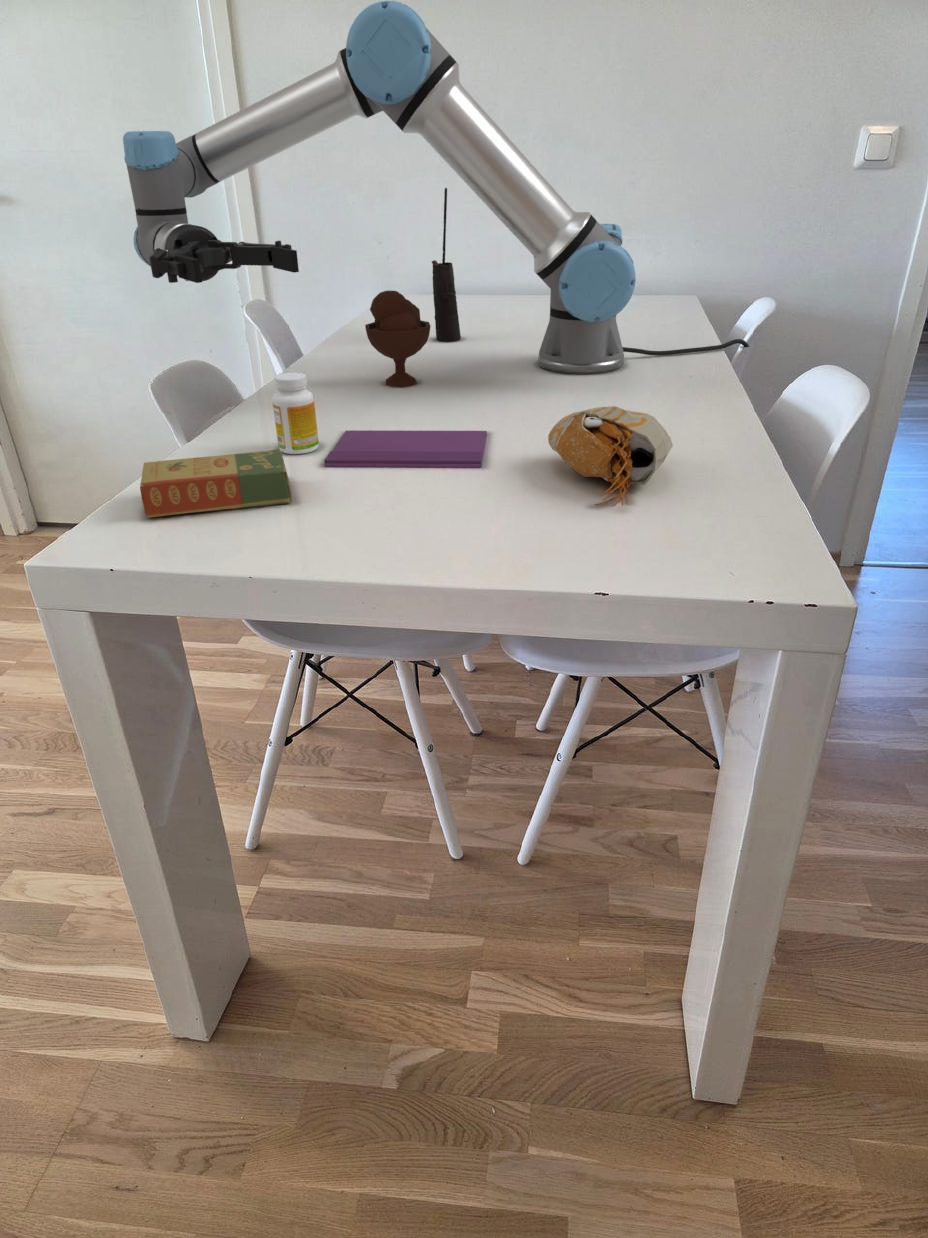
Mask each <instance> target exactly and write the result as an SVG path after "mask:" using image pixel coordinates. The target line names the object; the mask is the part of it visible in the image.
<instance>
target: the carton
mask: <svg viewBox="0 0 928 1238" xmlns="http://www.w3.org/2000/svg"><path fill="white" fill-rule="evenodd" d="M141 472H142V473H141V479H140V484H139V485H140V486H139V489H140V497H141V501H142V502H141V503H142V506H143V511H144V515H145V518H147V519H148V518H157V517H165V516H173V515H182V514H183V515H184V514H192V513H201V512H210V511H211V512H212V511H223V510H234V509H243V508H245V509H246V508H256V507H258V508H259V507H266V506H277V505H278V506H279V505H287V504H291V502H293V493H292V489H291V483H290V479H289V475H288V471H287V468H286V464H285V460H284V456H283V452H282V451H281V450H280V449H273V450H262V451H251V452H250V451H249V452H242V453H240V452H239V453H231V454H221V455H209V456H199V457H187V458H177V459H165V460H158V461H148V462H147V461H146V462H144V463H143V466H142V471H141Z"/></svg>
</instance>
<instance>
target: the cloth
mask: <svg viewBox="0 0 928 1238" xmlns="http://www.w3.org/2000/svg"><path fill="white" fill-rule="evenodd" d="M487 431H488V430H345V431H344V432H343V434H342V435H341V437H340V439H339V440H338V442H337V443H336V445H335V447H334V448H333V449H332V450H330V451H329V452H328V454H327V455H326V457H325V458H324V467H325V468H326V467H329V468H331V467H332V468H333V467H335V468H337V467H342V468H343V467H344V468H345V467H347V468H351V467H352V468H482V465H483V459H484V452H485V446H486V440H487V435H488V434H487V433H488V432H487Z"/></svg>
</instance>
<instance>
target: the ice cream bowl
mask: <svg viewBox="0 0 928 1238" xmlns="http://www.w3.org/2000/svg"><path fill="white" fill-rule="evenodd" d="M369 311H370V313H371V315H372V317H373V318H374V321H373V322H370V323H367V324H365V333H366V336H367V339H368V341H369V343H370V345H371V346H372V347H373V348H374V349H375V351H377V352H378V353H379V354H381V355H382V356H384V357H387V358H388V359H389V358H390V359H392V360H393V363H394V373H393V374H392V375H390V376H388V377H387V378H386V379H385V381H384V382H385V386H387V387H391V388H405V387H412V386H415V385H417V384H418V383H417V379H416V377H415V376H412V375H411V374H410V373H408V372H407V371H406V361H407V359H408V358H410V357H412V356H414V355H416V354H417V353H418V352H420V351H421V350H422V348H423V347H424V346H425V345H426V344H427V342H428V339H429V337H430V333H431V326H432V325H431V324H430V321H426V320H421V310H420V309H419V308H418V306H416V305H415V304H414V303H413V302H412V301H410V300H409V299H407V298H406V297H405V296H404V294H402V293H400V292H399V291H398V290H383V291H380V292H379V293H378V294H376V295H375V296H374V298H373V299H372V302H371V304H370V308H369Z"/></svg>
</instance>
